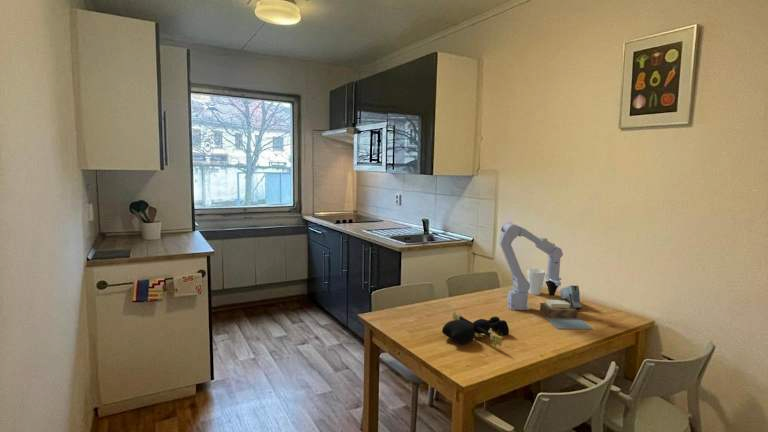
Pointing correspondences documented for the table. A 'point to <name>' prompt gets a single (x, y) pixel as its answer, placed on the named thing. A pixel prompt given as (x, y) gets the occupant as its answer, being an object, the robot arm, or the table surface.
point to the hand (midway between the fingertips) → (551, 295)
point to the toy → (474, 329)
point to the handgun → (572, 296)
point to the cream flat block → (557, 303)
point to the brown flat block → (558, 311)
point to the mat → (569, 323)
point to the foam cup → (535, 280)
